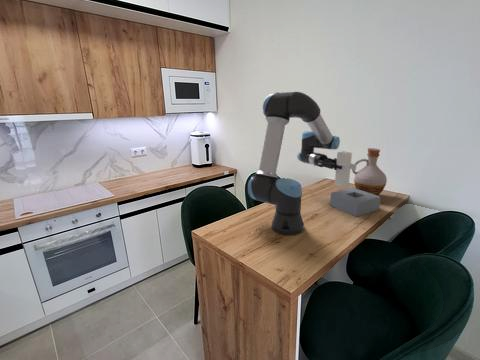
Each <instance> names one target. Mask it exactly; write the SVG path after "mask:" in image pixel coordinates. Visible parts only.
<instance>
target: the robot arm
mask: <svg viewBox="0 0 480 360" xmlns="http://www.w3.org/2000/svg"><path fill="white" fill-rule="evenodd" d="M262 111H263V112H262V113H263V115H264V116H265V121H266V122H267V126H266V131H265V136H264V142H263V146H262V152H261V158H260V163H259V167H258V170H257V171H255V173H254V176H252V177H251V178H250V180H249V181H248V184H247V192H248V195H249V197H250V198H251V199H253V200H255V201H257V202H262V203H266V204H270V205H274V206H275V212H274V216H273V218H272V221H271V229H272V230H273V231H274V232H275V233H277V234H280V235H285V236H295V235H299V234H300V233H302V232H303V231H304V228H305V224H304V221H303V217H302V213H301V210H302V194H303V191H302V184H301V183H300V182H299V181H297V180H296V179H292V178H285V177H281V178H279V176H278V174H277V170H278V166H279V165H278V164H279V158H280V155H281V154H280V153H281V149H282V143H283V139H284V133H285V129H286V125H288V124H289V123H290V118H292V119H293V118H297V119H301V120H302V122H304V123H306V124H307V126H308V127H309V128H310V130H309V131H308V130H307V131H306V130H305V131H303V132H302V133H301V150H299V151H298V153H297V155H296V156H297V160H298V161H300V162H301V163H304V164H309V165H313V166H314V167H315V166H316V167H320V168H326V169H329V170H333V169H334V171H336V169H339V170H343V171H347V172H348V169H349V166H346V165H342V164H336V163H337V157H335V158H330V157H328V155H326V154H324V153H320V152H315V149H325V150H334V151H335V150H338V148H339V147H340V143H341V141H340V140H341V139H340V137H339V136H336V135H333V134H332V132H331V130H330V129H329V127H328V125H327V124H326V121H325V120H324V118H323V116H322V114H321V108H320V106H319V104H318V103H317V102H316V101H315V100H314V99H313V98H312V96H309V95H308V94H306V93H304V92H301V91H288V92H274V93H269V94H268V95H267V96H266V97H265V99H264V100H263V103H262ZM352 169H353V170H355V171H356V170H357V165H356V164H355V163H352V162H351V167H350V170H352Z"/></svg>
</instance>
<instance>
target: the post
mask: <svg viewBox="0 0 480 360" xmlns="http://www.w3.org/2000/svg"><path fill="white" fill-rule="evenodd" d="M352 156H353V152H349V151H345V150H343V151H338V152H336V159H337V163H336V164H342V165H346V166H349V169H348V172H347V171H343V170H339V169H336V170H335V177H334V186H337V187H339V188H346V187H349V185H350V175H351V169H350V167H351V163H352Z"/></svg>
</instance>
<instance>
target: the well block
mask: <svg viewBox="0 0 480 360" xmlns="http://www.w3.org/2000/svg"><path fill="white" fill-rule="evenodd" d="M380 204H381V196H379V195H378V196H377V195H374V194H371V193H368V192H365V191H362V190H359V189H356V187H350V188H345V189H342V190H337V191H333V192H331V193H330V201H329V205H330V206H331V207H333V208H336V209H338V210H339V211H342V212H345V213H346V214H349V215H352V216H354V217H359V216H363V215H366V214H368V213H372V212H375V211H378V210H380Z"/></svg>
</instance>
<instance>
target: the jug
mask: <svg viewBox="0 0 480 360" xmlns="http://www.w3.org/2000/svg"><path fill="white" fill-rule="evenodd" d="M380 152H381V149H380V148H373V147H372V148H371V147H368V148H367V153H366V155H367V158H368V159H367V158H361V159H359V160H357V161H356V162H355V163H354V164H356V166H357V165H358V164H360V163H361V162H366V165H365V166H364V167H362V168H361V169H359V170H358V171H356V170H353V169H351V171H352V173H353V174H354V179H353V183H354V186H355V187H354V188H356V189H359V190H362V191H365V192H368V193H371V194H374V195H377V196H379V195H380V194H381V193H382V192H383V191H384V189H385V187H386V185H387V183H388V182H387V181H388V179H387V176H386V174H385V173H384V171H383V170H381V169H380V168H379V166H378V165H377V162H378V159H379V157H380Z"/></svg>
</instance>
